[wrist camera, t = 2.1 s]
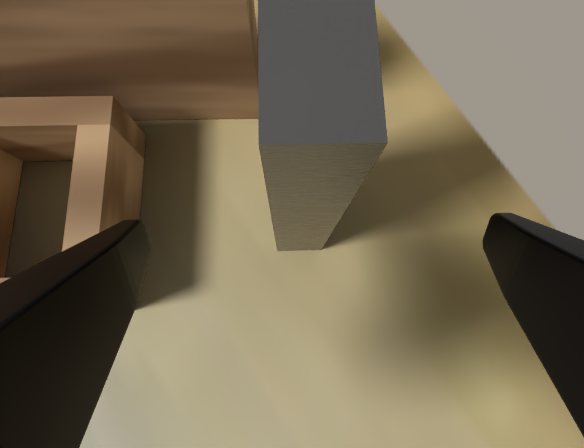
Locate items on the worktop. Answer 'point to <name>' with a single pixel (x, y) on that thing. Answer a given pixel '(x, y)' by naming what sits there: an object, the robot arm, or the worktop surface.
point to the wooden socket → (113, 92)
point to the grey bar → (317, 112)
